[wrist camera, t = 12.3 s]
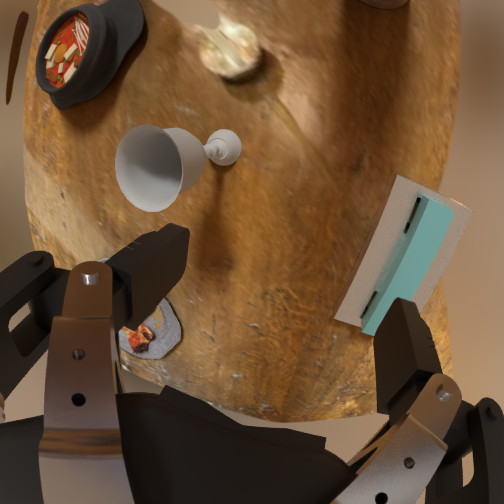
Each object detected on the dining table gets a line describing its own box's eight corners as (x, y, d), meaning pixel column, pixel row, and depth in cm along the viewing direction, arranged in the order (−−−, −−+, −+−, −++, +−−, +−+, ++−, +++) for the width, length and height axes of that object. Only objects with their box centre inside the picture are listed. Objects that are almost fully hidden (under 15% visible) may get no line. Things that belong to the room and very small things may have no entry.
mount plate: (392, 170, 32) (397, 174, 30) (463, 205, 31) (472, 211, 28) (334, 306, 43) (333, 318, 40) (399, 327, 41) (401, 339, 39)
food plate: (150, 366, 62) (143, 376, 59) (80, 301, 60) (71, 308, 57) (203, 317, 51) (195, 328, 48) (112, 232, 49) (100, 238, 46)
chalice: (252, 169, 37) (192, 205, 21) (206, 177, 39) (127, 217, 24) (242, 116, 34) (172, 113, 19) (195, 127, 37) (107, 137, 21)
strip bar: (416, 189, 32) (429, 199, 28) (440, 201, 32) (455, 212, 27) (359, 310, 42) (361, 332, 37) (381, 317, 41) (385, 339, 36)
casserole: (132, -22, 27) (101, -36, 19) (167, 45, 32) (133, 33, 25) (47, 63, 37) (16, 64, 29) (69, 131, 42) (35, 138, 34)
